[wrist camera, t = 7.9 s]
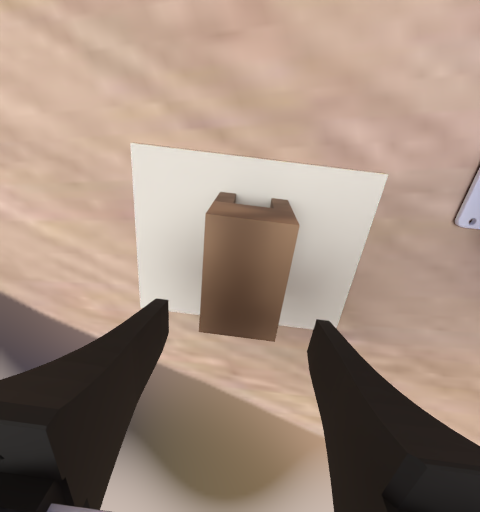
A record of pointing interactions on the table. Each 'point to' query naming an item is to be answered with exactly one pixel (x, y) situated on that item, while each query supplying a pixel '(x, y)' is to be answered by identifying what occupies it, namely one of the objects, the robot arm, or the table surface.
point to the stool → (246, 267)
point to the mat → (255, 194)
